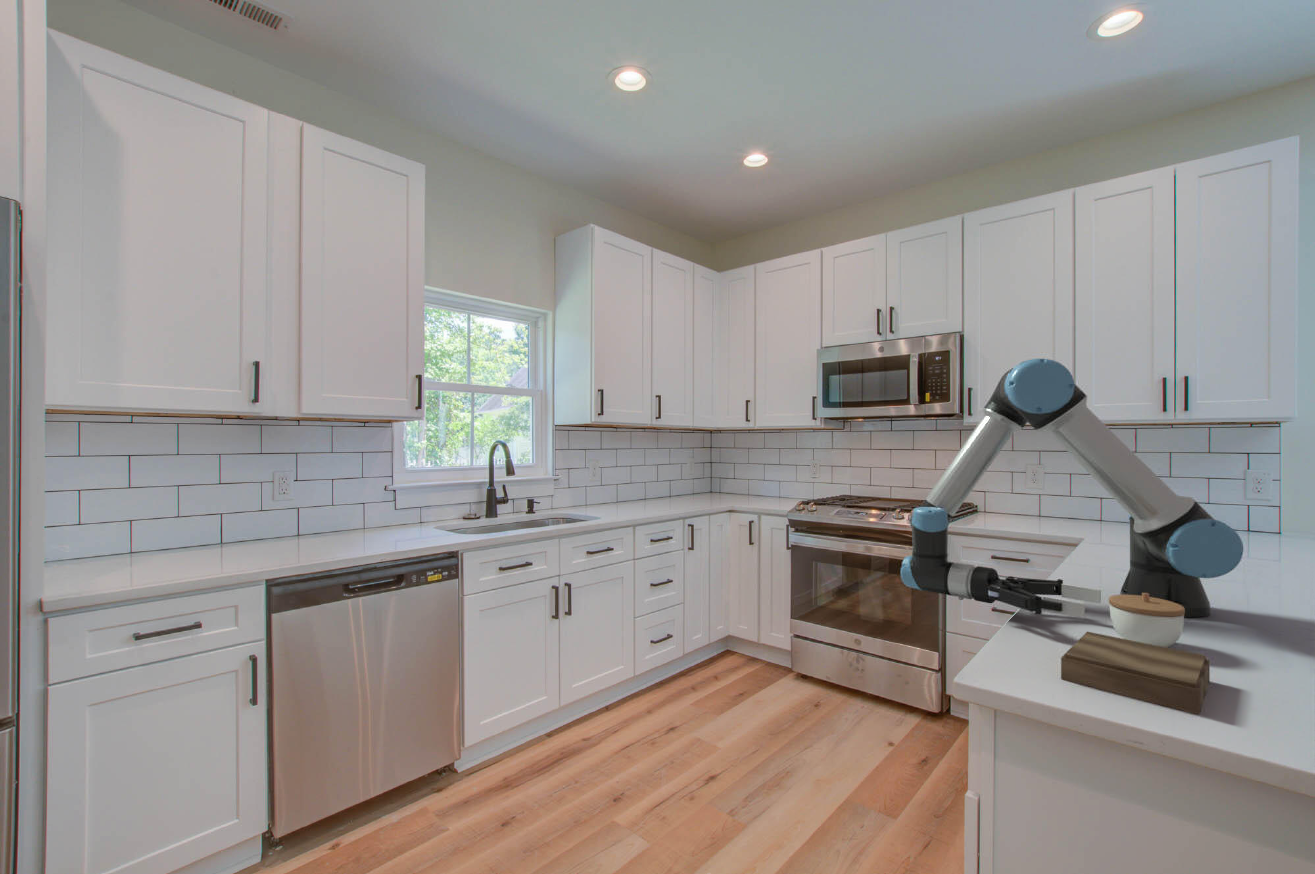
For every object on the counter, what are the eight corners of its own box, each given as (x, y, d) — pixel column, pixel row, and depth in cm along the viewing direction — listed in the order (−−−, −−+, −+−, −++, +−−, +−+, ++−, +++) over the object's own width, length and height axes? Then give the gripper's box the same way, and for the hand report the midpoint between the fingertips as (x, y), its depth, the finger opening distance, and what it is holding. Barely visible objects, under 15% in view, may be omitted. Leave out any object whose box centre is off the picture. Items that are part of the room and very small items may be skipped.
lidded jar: (1200, 657, 100) (1200, 603, 100) (1129, 652, 102) (1129, 599, 102) (1160, 636, 111) (1160, 587, 111) (1096, 632, 113) (1096, 584, 113)
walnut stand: (1084, 652, 102) (1084, 630, 102) (1209, 680, 90) (1209, 655, 90) (1061, 678, 91) (1061, 653, 91) (1199, 714, 80) (1199, 685, 80)
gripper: (994, 589, 136) (1106, 609, 121) (952, 611, 119) (1076, 637, 104) (994, 557, 136) (1106, 573, 121) (952, 575, 119) (1076, 596, 104)
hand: (1092, 603), depth 112 cm, fingers open, 13 cm apart
